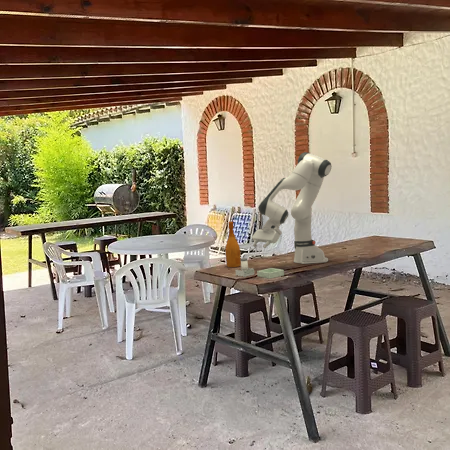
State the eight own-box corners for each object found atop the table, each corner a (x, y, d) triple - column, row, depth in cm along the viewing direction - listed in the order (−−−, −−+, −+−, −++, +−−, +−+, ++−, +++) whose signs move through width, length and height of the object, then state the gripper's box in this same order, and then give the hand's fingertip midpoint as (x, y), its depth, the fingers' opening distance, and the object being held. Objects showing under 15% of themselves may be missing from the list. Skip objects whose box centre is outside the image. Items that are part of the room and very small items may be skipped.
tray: (271, 273, 308) (271, 267, 307) (284, 275, 299) (283, 269, 298) (257, 276, 301) (257, 271, 301) (269, 278, 292) (269, 273, 292)
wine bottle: (237, 268, 332) (233, 222, 329) (223, 267, 337) (220, 222, 334) (243, 265, 340) (240, 220, 337) (230, 264, 345) (227, 220, 342)
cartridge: (248, 274, 309) (247, 257, 308) (247, 275, 306) (246, 259, 305) (242, 274, 310) (241, 258, 309) (241, 275, 306) (240, 259, 305)
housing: (246, 272, 313) (245, 267, 313) (254, 274, 307) (254, 268, 307) (235, 275, 309) (235, 269, 308) (244, 276, 302) (243, 271, 302)
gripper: (256, 225, 325) (245, 242, 320) (278, 226, 308) (267, 245, 304) (262, 231, 328) (251, 248, 323) (284, 233, 311) (273, 251, 307)
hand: (259, 247), depth 313 cm, fingers open, 8 cm apart
